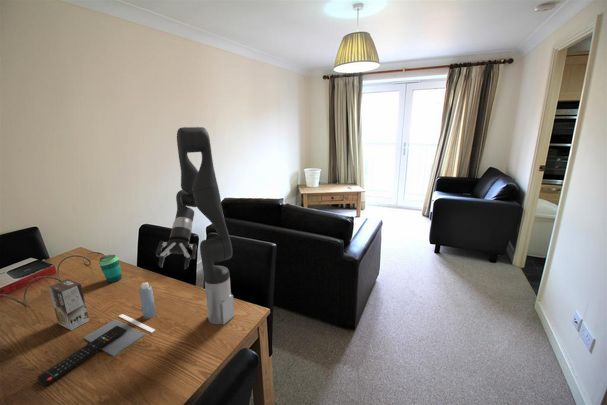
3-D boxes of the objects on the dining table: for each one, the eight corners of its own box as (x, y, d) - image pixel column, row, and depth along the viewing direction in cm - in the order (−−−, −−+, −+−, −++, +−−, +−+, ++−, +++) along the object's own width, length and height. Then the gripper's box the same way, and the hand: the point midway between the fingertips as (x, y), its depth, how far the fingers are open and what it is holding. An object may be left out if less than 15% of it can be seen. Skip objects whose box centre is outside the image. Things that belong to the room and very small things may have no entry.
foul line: (155, 330, 103) (155, 329, 103) (151, 333, 102) (151, 332, 102) (122, 314, 112) (122, 313, 112) (118, 316, 110) (118, 316, 110)
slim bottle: (158, 313, 112) (153, 282, 109) (148, 319, 109) (142, 288, 105) (151, 310, 114) (146, 279, 111) (140, 316, 110) (135, 285, 107)
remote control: (126, 332, 101) (126, 329, 101) (46, 388, 80) (44, 384, 80) (117, 328, 103) (116, 325, 103) (36, 381, 82) (35, 378, 82)
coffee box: (90, 320, 108) (81, 283, 104) (71, 331, 103) (61, 292, 98) (76, 314, 112) (68, 278, 108) (57, 323, 106) (47, 286, 102)
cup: (115, 284, 133) (110, 261, 130) (98, 284, 133) (93, 261, 130) (125, 275, 141) (121, 254, 138) (109, 275, 141) (105, 253, 138)
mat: (145, 335, 101) (145, 334, 100) (113, 356, 91) (113, 355, 91) (115, 320, 108) (115, 319, 108) (83, 338, 99) (83, 337, 99)
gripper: (161, 224, 111) (150, 262, 101) (199, 227, 114) (192, 264, 105) (164, 233, 117) (154, 270, 107) (199, 236, 120) (193, 272, 111)
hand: (173, 267), depth 106 cm, fingers open, 8 cm apart
